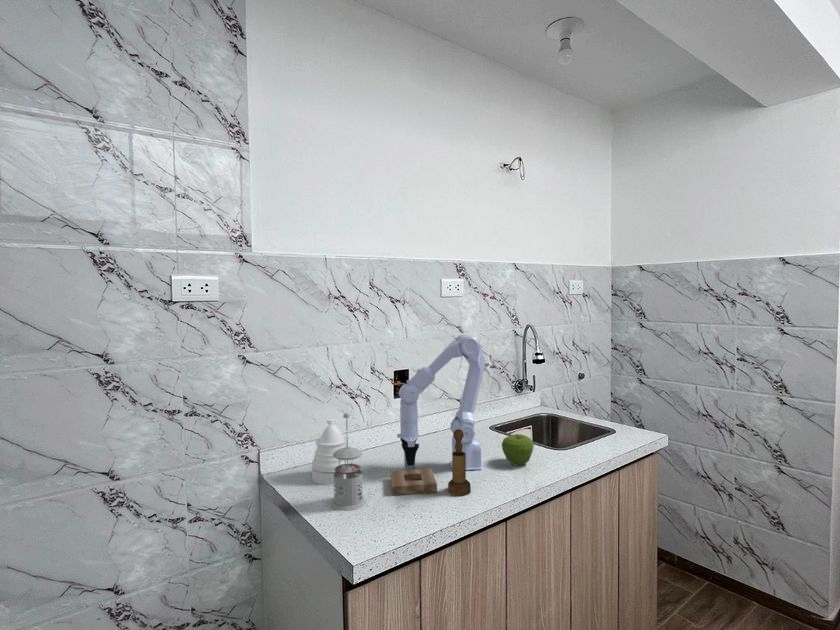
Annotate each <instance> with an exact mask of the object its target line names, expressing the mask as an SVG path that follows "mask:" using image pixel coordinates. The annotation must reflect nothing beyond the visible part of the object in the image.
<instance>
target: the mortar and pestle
mask: <svg viewBox="0 0 840 630" xmlns="http://www.w3.org/2000/svg"><path fill="white" fill-rule="evenodd" d="M452 434H453V436H454V438H455V440H456V445H455V449H456V451H455V452H453V453H452V452H451V459H452V460H451V461H452V467H451V469H452V479H451V480H450V481H449V482H448V483H447V485H448V486H447V487H448V488H447V491H448V493H449V494H450V495H453V496H456V497H457V496H458V497H463V496H467V495H469V494H470V493H471V490H472V488H471V487H472V486H471V483H470V481H468V479H467V476H466V475H467V470H466V454H465V453H464V452H462V447H463V445H461V440H462V439H463V436H464V433H463V431H462V430H460V429H457V430H455V431H454V433H453V432H452ZM453 436H452V437H453Z"/></svg>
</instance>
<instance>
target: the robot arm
mask: <svg viewBox="0 0 840 630" xmlns="http://www.w3.org/2000/svg"><path fill="white" fill-rule="evenodd" d="M463 356H464V359H465V360H466V361H467V363H468V365H469V366H468V370H467V374H466V378H465V383H464V388H463V390H462V391H463V392H462V395H461V400H460V403H459V409H458V410H457V411H456V413H455V417H454V418H453V420H452V421H451V422H450V430H451V432H452V434H453V433H454V431H455V430H457V429H460V430H462V431H463V433H464V436H463V439H462V440H461V445H463V447H462V452H464V453H465V454H466V471H475V470H476V471H477V470H482V469H483V467H482V449H481V447H482V446H481V443H480V440H479V439H475V435H476V430H475V423H476V421H475V420H476V419H475V411H476V408H477V406H476V405H477V402H478V398H479V394H480V390H481V385H482V381H483V377H484V376H483V375H484V372H485V368H486V364H487V363H486V359H485V355H484V351H483V346H482V344H481V343H480V342H479V340H478V339H477V338H476V337H474V336H468V335H467V334H460V335H458V336H457V337H456V338H455V340H452V341H451V342H450V343H449V344H448V345H447V346H446V347H445V348H444V349H443V351H441V353H440V354H438V356H437V357H436V358H435V359H434V360H433V361H432V362H431V364H430V365H428V366H427V367H426V366H424V367H421V368H417V370H416V373H415V374H414V375H413V376H412V377H411V378H410V379H407V380H406V383H404V384H403V385H401V387H400V388H399V390H398V395H399V398H400V403H399V404H400V407H399V412H400V413H399V415H400V416H399V417H400V421H399V422H400V433H397V434H396V437H397V438H398V439H399V438H400V441H401V445H400V446H401V447H402V450H403V453H404V452H405V456H406V462H407V465H408V466H410V465H414V462H415V463H416V454H417V452H418V450H419V447H420V444H419V443H416V442H417V440H418V438H419V422H418V417H419V416H418V403H417V402H418V400H419V397H420V394H422V393H423V392H424V391H425V390H426V389H427V388H428V387H429V386H430V385H431V384H432V383H433V382H434V381H435V379H436V378H435V377H436V374H437V373H438V372H439V371H441V369H442V368H444V367H445V366H446V365H447V364H448V363H449V362H450V361H451V360H452V359H456V358H461V357H463ZM455 445H456V440H455V438H454V436H452V437H451V454H452V453H453V452H455V451H456V449H455ZM449 465H450V466H451V468H452V460H451V461H449Z"/></svg>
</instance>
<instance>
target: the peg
mask: <svg viewBox="0 0 840 630" xmlns="http://www.w3.org/2000/svg"><path fill="white" fill-rule="evenodd" d="M403 453H404V454H403V455H404V456H403V457H404V460H403V462H404V463H403V464H404V470H416V461H415V462H414V465H410V466H408V465H407V462H406V456H405V452H404V451H403Z"/></svg>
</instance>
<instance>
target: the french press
mask: <svg viewBox="0 0 840 630" xmlns="http://www.w3.org/2000/svg"><path fill="white" fill-rule="evenodd" d="M350 417H351V414H350V413H349V412H346V413H344V414H343V416H342V418H344V419H345V420H346V421H345V422H346V429H345V430H348V418H350ZM348 436H349V435H348V433H346V438H347V442H346V444H347V447H345V448H341V449H339V450H337V451H336V452H334V453H333V457H335V458H336V459H339V466H337V467H336V468H335V471H336V472H335V473H334V482H335V483H336V484H333V496H334V497H333V500H332V501H331V503H330V507H331V508H332V509H333V510H336V511H340V512H342V511H343V512H348V511H354V510H359V509H361V508H362V507H364V506H365V505H366V504H367V500H366V498H365V497H364V496H363V471H362V470H361V469H362V467H361V465H360V464H357V463H353V464H351V463H349V464H348V460H357V459H358V458H360V457H361V456H362V455H363V451H362V450H360V449H358V448H357V447H352V446H349V445H348V444H349V443H348V442H349V441H348V440H349V439H348V438H349V437H348ZM340 460H345V464H342V465H340ZM346 460H347V464H346ZM343 474H346V479H344V475H343ZM356 474H360V475H356Z"/></svg>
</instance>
